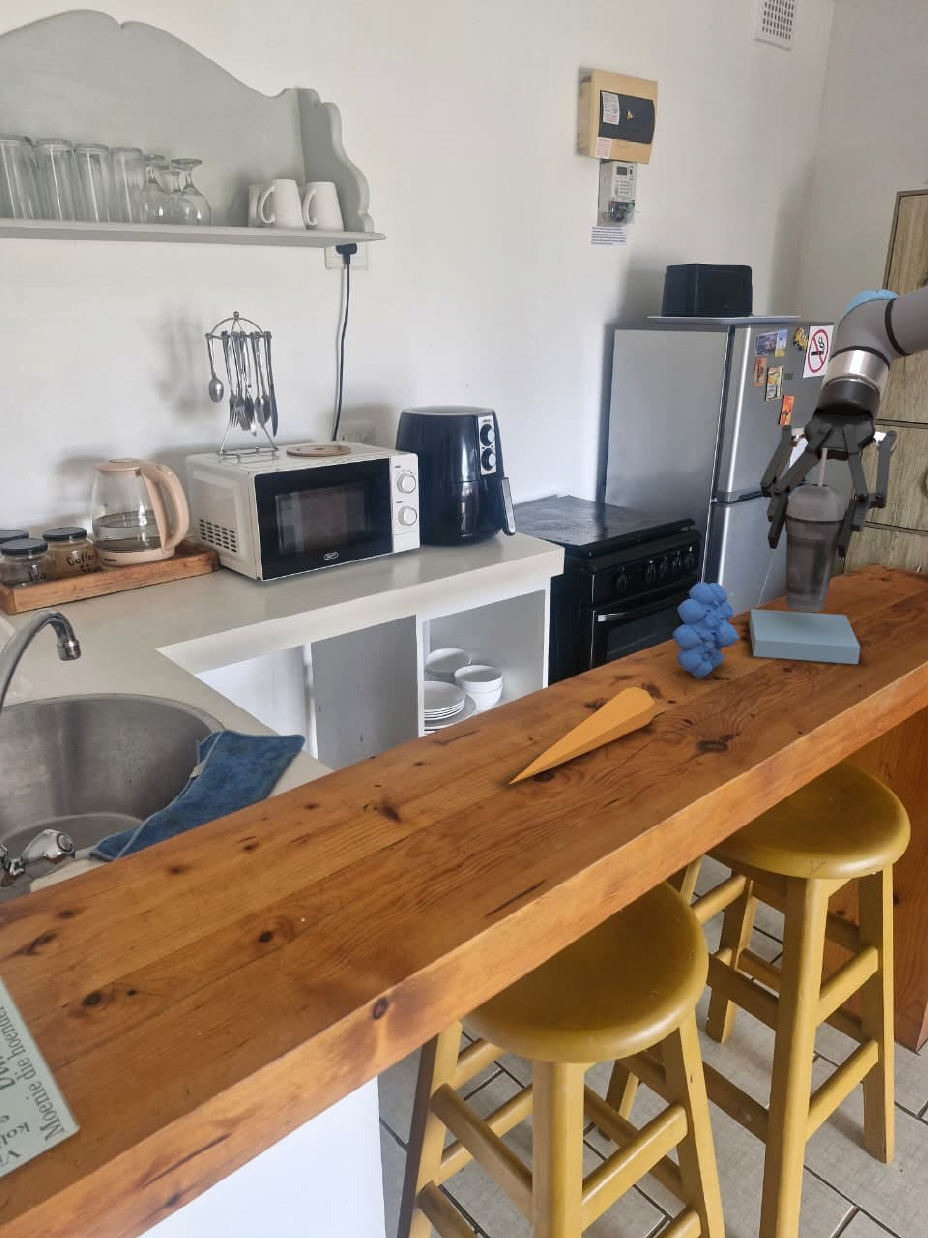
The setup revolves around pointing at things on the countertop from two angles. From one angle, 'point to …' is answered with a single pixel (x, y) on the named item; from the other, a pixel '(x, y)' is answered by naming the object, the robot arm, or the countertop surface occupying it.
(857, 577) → the countertop surface
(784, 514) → the robot arm
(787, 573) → the beverage cup
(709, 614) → the grapes
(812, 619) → the foam pad
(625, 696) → the carrot
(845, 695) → the countertop surface
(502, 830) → the countertop surface
